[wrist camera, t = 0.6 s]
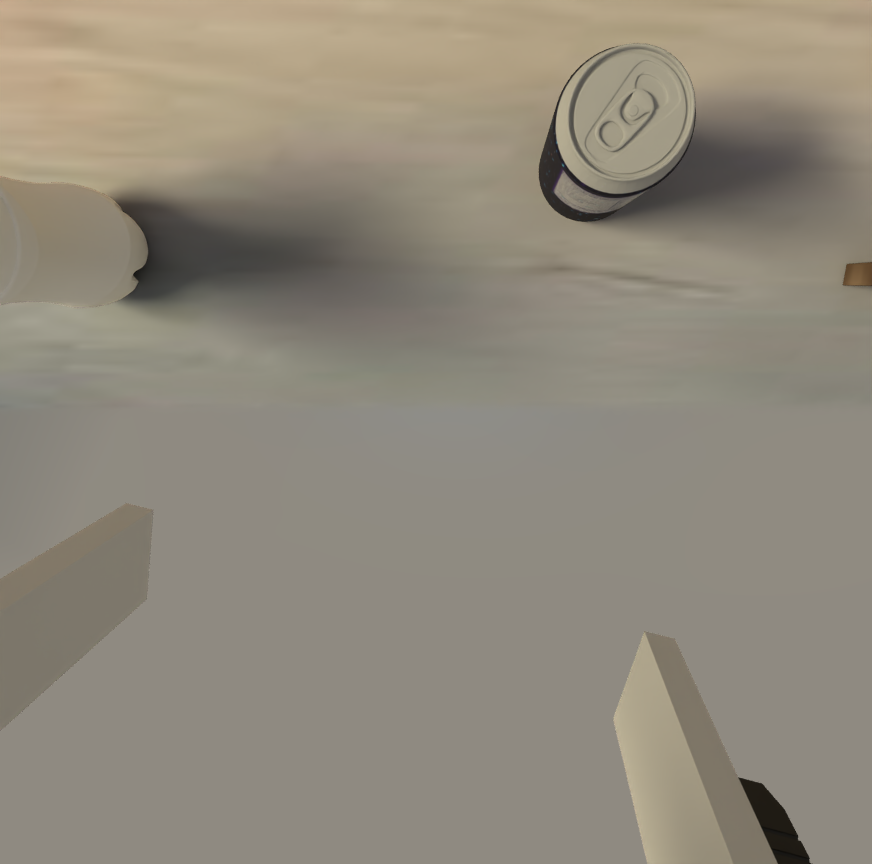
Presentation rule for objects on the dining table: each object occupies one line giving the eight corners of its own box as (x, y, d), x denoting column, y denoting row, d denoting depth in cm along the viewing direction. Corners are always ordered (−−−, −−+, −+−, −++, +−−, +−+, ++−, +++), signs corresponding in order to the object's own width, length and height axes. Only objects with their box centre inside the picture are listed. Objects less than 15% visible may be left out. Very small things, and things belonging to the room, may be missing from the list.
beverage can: (657, 169, 34) (738, 107, 22) (583, 243, 35) (624, 222, 24) (589, 96, 33) (636, -6, 22) (517, 175, 35) (525, 118, 23)
